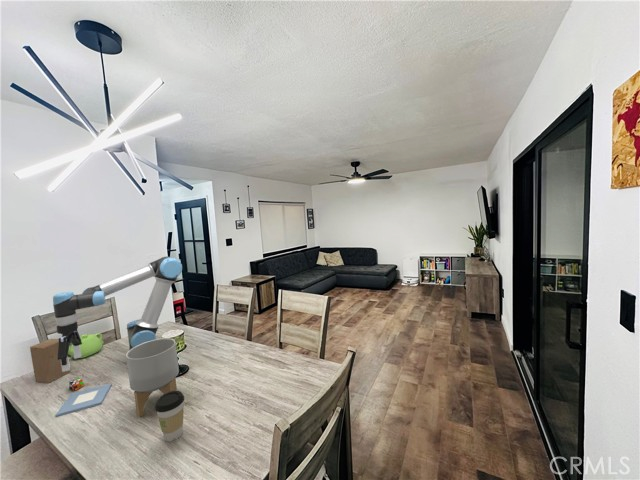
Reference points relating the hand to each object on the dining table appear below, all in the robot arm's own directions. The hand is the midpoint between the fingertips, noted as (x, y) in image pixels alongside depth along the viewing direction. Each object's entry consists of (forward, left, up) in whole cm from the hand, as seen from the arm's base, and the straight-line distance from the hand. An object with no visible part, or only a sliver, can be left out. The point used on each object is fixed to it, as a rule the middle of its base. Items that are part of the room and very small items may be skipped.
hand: (72, 364), depth 133 cm
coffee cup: (-48, +59, -14) cm, 77 cm away
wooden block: (+17, -21, -14) cm, 30 cm away
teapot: (+10, -44, -14) cm, 47 cm away
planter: (-40, +34, -14) cm, 54 cm away
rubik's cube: (0, 0, -14) cm, 14 cm away
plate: (-8, +14, -13) cm, 21 cm away
